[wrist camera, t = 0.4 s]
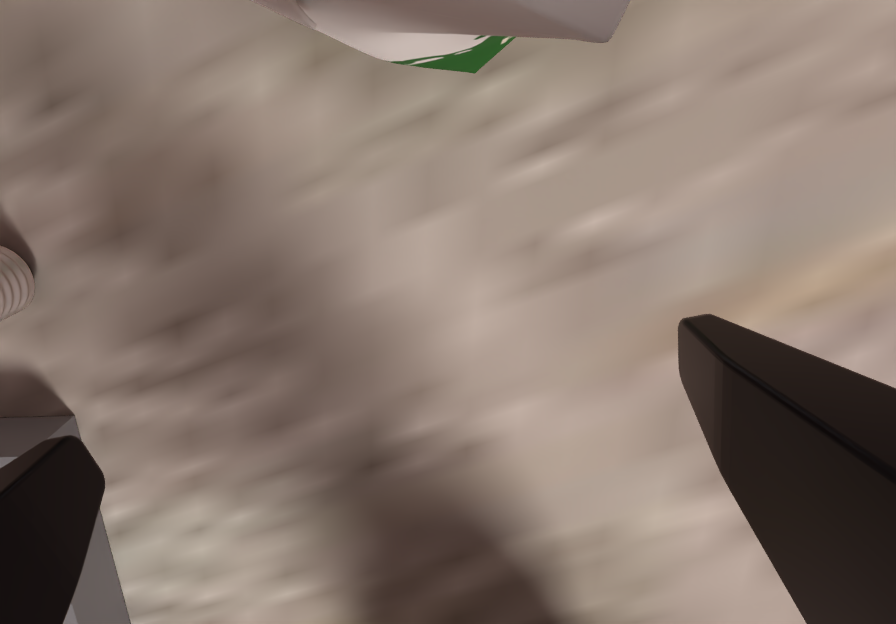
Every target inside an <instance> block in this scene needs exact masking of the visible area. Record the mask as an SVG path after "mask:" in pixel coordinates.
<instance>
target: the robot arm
mask: <svg viewBox="0 0 896 624" xmlns="http://www.w3.org/2000/svg"><path fill="white" fill-rule="evenodd" d="M678 361H679V373H680V377H681V381H682V384H683V386H684V389H685V391H686V393H687V396H688V398H689V400H690V403H691V405H692V407H693V410H694V412H695V415H696V417H697V419H698V422H699V424H700V426H701V429H702V431H703V434H704V436H705V438H706V441H707V443H708V445H709V448H710V450H711V452H712V455H713V457H714V459H715V462H716V464H717V466H718V468H719V471H720V473H721V475H722V476H723V478H724V480H725V482H726V484H727V486H728V488H729V489H730V491H731V493H732V495H733V496H734V498H735V500H736V502H737V503H738V505H739V507H740V509H741V510H742V512H743V514H744V516H745V517H746V519H747V521H748V522H749V524H750V526H751V528H752V529H753V531H754V533H755V535H756V536H757V538H758V540H759V542H760V543H761V545H762V547H763V549H764V550H765V552H766V554H767V555H768V557H769V559H770V561H771V562H772V564H773V566H774V568H775V569H776V571H777V573H778V575H779V576H780V578H781V580H782V582H783V583H784V585H785V587H786V589H787V590H788V592H789V594H790V595H791V597H792V599H793V601H794V602H795V604H796V606H797V608H798V609H799V611H800V613H801V615H802V616H803V618H804V620H805V622H806V623H807V624H896V388H894V387H891V386H889V385H886V384H884V383H881V382H879V381H876V380H874V379H871V378H869V377H866V376H864V375H861V374H859V373H856V372H854V371H851V370H849V369H846V368H844V367H841V366H839V365H836V364H834V363H831V362H829V361H826V360H824V359H821V358H819V357H816V356H814V355H811V354H809V353H806V352H804V351H801V350H799V349H797V348H794V347H792V346H789V345H787V344H784V343H782V342H779V341H777V340H774V339H772V338H769V337H767V336H764V335H762V334H759V333H757V332H754V331H752V330H749V329H747V328H744V327H742V326H739V325H737V324H734V323H732V322H729V321H727V320H724V319H722V318H719V317H717V316H714V315H711V314H703V315H698V316H693V317H688V318H684V319H682V320H681V321H680V322H679V325H678ZM104 490H105V478H104V475H103V472H102V471H101V469H100V468H99V466H98V465H97V463H96V462H95V460H94V459H93V457H92V456H91V454H90V453H89V451H88V450H87V448H86V446H85V445H84V443H83V442H82V441H81V440H80V439H79V438H78V437H76V436H73V435H66V436H61V437H55V438H50V439H46V440H44V441H42V442H40V443H39V444H37V445H36V446H34V447H33V448H31V449H29V450H28V451H26V452H25V453H23V454H22V455H20V456H19V457H17V458H16V459H14V460H12V461H11V462H9V463H8V464H6V465H5V466H3V467H2V468H0V624H63V623H64V620H65V617H66V615H67V612H68V610H69V607H70V604H71V602H72V599H73V596H74V594H75V591H76V588H77V585H78V582H79V579H80V576H81V573H82V569H83V566H84V562H85V559H86V555H87V551H88V548H89V544H90V541H91V537H92V533H93V530H94V526H95V523H96V519H97V515H98V512H99V508H100V505H101V501H102V497H103V494H104Z"/></svg>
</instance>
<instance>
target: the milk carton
mask: <svg viewBox="0 0 896 624" xmlns="http://www.w3.org/2000/svg"><path fill="white" fill-rule="evenodd" d="M251 1H253V2H255V3H257V4H260V5H262V6H264V7H266V8H268V9H270V10H272V11H274V12H276V13H278V14H281V15H283V16H285V17H287V18H289V19H291V20H293V21H295V22H298V23H300V24H302V25H304V26H306V27H309V28H311V29H313V30H314V29H315V30H317V31H319V32H322V33H324V34H326V35H328V36H330V37H332V38H334V39H336V40H338V41H340V42H342V43H344V44H346V45H348V46H350V47H352V48H354V49H357V50H359V51H361V52H363V53H366V54H368V55H370V56H373V57H375V58H378V59H382V60H385V61H388V62H392V63H397V64H403V65H410V66H417V67H424V68H433V69H442V70H451V71H461V72H469V73H476V72H477V71H478V70H479V69H480V68H481V67H482V66H484V65H485V64H486V63H487V62H488V61H489V60H490V59H491V58H493V57H494V56H495V55H496V54H497V53H498V52H499V51H501V50H502V49H503V48H504V47H505V46H506V45H507V44H509V43H510V42H511V41H512V40H513V39H514V38H515V37H535V38H558V39H574V40H581V41H587V42H595V43H604V42H608V41H609V40H610V39H611V37H612V35H613V34H614V32H615V30H616V28H617V26H618V24H619V22H620V20H621V18H622V16H623V14H624V12H625V10H626V8H627V6H628V4H629V2H630V0H251Z"/></svg>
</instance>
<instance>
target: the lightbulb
mask: <svg viewBox="0 0 896 624" xmlns="http://www.w3.org/2000/svg"><path fill="white" fill-rule="evenodd" d="M34 291H35V284H34V279H33V275H32V273H31V270H30V269H29V267H28V266H27V264H26V263H25V262H24V260H23V259H22V258H21V257H20V256H18V255H17V254H16V253H14V252H13V251H11V250H9V249H7V248H5V247H3V246H0V321H2V320H3V319H6V318H8V317H10V316H11V315H14V314H16V313H18V312H19V311H21V310H23V309H25V308H26V307H27V306H28V305H29V304H30V302H31V301H32V299H33V296H34Z"/></svg>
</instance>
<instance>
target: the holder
mask: <svg viewBox="0 0 896 624" xmlns="http://www.w3.org/2000/svg"><path fill="white" fill-rule="evenodd" d="M66 435H73V436H76V437H78V438H79V439H80V435H79V431H78V427H77V424H76V420H75V416H47V417H15V418H0V468H2V467H3V466H5V465H6V464H8V463H9V462H11V461H12V460H14V459H16V458H17V457H19V456H20V455H22V454H23V453H25V452H26V451H28V450H29V449H31V448H33V447H34V446H36V445H37V444H39V443H40V442H42V441H44V440H46V439H50V438H55V437H61V436H66ZM80 440H81V439H80ZM63 624H130V620H129V616H128V613H127V609H126V605H125V602H124V598H123V594H122V590H121V587H120V583H119V579H118V576H117V572H116V568H115V564H114V561H113V557H112V553H111V550H110V546H109V542H108V539H107V535H106V531H105V527H104V524H103V520H102V516H101V513H100V509H99V512H98V515H97V519H96V523H95V526H94V530H93V533H92V537H91V541H90V544H89V548H88V551H87V555H86V559H85V562H84V566H83V569H82V573H81V576H80V579H79V582H78V585H77V588H76V591H75V594H74V596H73V599H72V602H71V604H70V607H69V610H68V612H67V615H66V617H65V620H64V623H63Z"/></svg>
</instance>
